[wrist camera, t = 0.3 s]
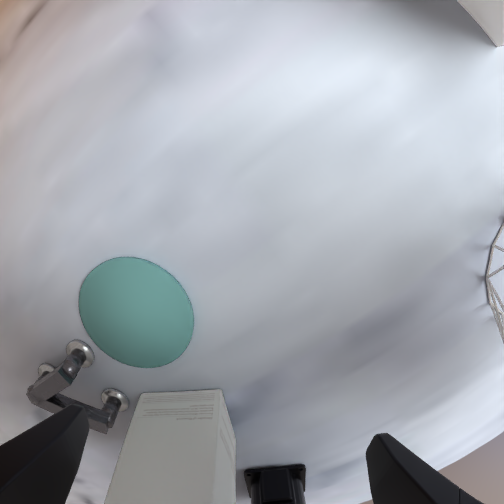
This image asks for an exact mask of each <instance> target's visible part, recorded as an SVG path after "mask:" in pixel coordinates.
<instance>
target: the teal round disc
mask: <svg viewBox="0 0 504 504" xmlns="http://www.w3.org/2000/svg"><path fill="white" fill-rule="evenodd" d="M79 310H80V316H81V319H82V322H83V325H84V327H85V329H86V331H87V333H88V334H89V336H90V337H91V339H92V340H93V341H94V343H95V344H96V345H97V346H98V347H99V348H100V349H101V350H102V351H104V352H105V353H106V354H107V355H109V356H110V357H112V358H113V359H115V360H117V361H119V362H121V363H124V364H127V365H130V366H134V367H140V368H154V367H159V366H163V365H166V364H168V363H170V362H172V361H174V360H175V359H177V358H178V357H179V356H180V355H181V354H182V353H183V352H184V351H185V349H186V348H187V346H188V344H189V342H190V339H191V336H192V333H193V327H194V315H193V309H192V306H191V303H190V300H189V298H188V296H187V294H186V292H185V290H184V289H183V288H182V286H181V285H180V283H179V282H178V281H177V280H176V279H175V278H174V277H173V276H172V275H171V274H170V273H168V272H167V271H166V270H164V269H163V268H161V267H160V266H158V265H156V264H154V263H152V262H150V261H147V260H144V259H140V258H135V257H119V258H113V259H110V260H108V261H105V262H104V263H102V264H100V265H99V266H97V267H96V268H95V269H94V270H92V272H91V273H90V274H89V275H88V276H87V278H86V279H85V281H84V283H83V285H82V287H81V291H80V295H79Z"/></svg>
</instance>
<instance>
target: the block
mask: <svg viewBox="0 0 504 504" xmlns="http://www.w3.org/2000/svg"><path fill="white" fill-rule="evenodd" d="M457 1H458V2H459V3H460V4H461V5H462V6H463V8H464V9H465V10H466V11H467V12H468V13H469V14H470V15H471V16H472V17H473V19H474V20H475V21H476V22H477V23H478V24H479V25H480V27H481V28H482V29H483V30H484V31H485V33H486V34H487V35H488V36H489V38H490V39H491V40H492V41H493V43H494V44H495V45H496V47H500V46H503V45H504V0H457Z"/></svg>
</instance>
